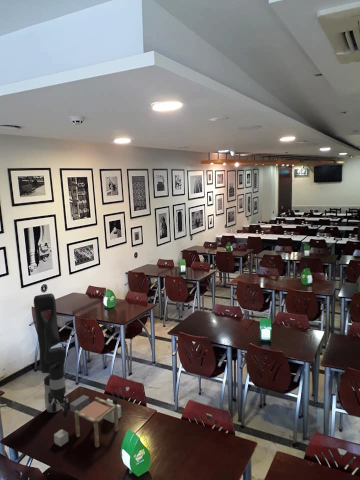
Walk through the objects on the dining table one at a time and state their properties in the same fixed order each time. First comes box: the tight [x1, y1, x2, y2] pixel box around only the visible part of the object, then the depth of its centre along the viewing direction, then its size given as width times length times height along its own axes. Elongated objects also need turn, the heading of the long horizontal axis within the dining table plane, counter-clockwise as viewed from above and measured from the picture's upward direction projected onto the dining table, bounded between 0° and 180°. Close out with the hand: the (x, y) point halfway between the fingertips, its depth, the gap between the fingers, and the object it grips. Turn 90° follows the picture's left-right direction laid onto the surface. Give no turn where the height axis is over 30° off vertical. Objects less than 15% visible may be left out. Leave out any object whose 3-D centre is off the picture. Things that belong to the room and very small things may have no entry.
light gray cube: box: [53, 429, 69, 447], centre depth 190 cm, size 5×5×5 cm
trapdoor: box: [69, 394, 111, 419], centre depth 198 cm, size 20×12×4 cm, turn 56°
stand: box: [74, 396, 120, 448], centre depth 196 cm, size 16×16×14 cm
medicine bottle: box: [103, 396, 122, 424], centre depth 209 cm, size 7×7×12 cm
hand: (59, 413), depth 188 cm, fingers open, 8 cm apart
